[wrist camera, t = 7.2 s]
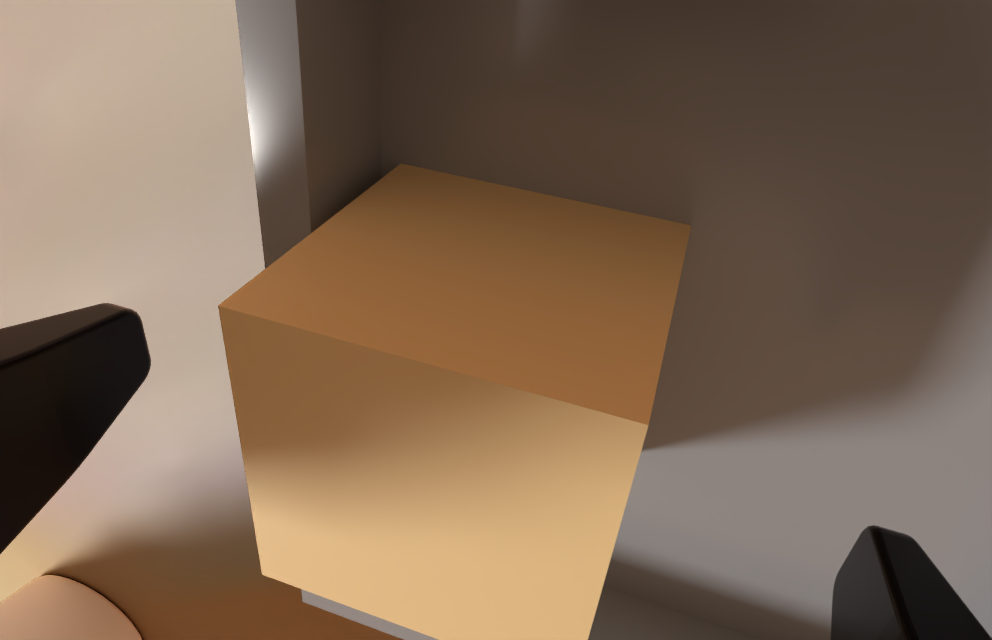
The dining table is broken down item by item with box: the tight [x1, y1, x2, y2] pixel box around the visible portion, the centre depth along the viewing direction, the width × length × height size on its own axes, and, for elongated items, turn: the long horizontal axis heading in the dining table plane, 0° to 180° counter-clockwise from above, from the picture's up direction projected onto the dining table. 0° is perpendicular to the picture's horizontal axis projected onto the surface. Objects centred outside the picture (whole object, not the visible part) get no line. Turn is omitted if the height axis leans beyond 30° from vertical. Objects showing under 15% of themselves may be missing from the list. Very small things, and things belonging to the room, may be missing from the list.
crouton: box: [218, 164, 691, 640], centre depth 9 cm, size 4×4×4 cm
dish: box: [235, 0, 992, 640], centre depth 9 cm, size 12×12×2 cm
